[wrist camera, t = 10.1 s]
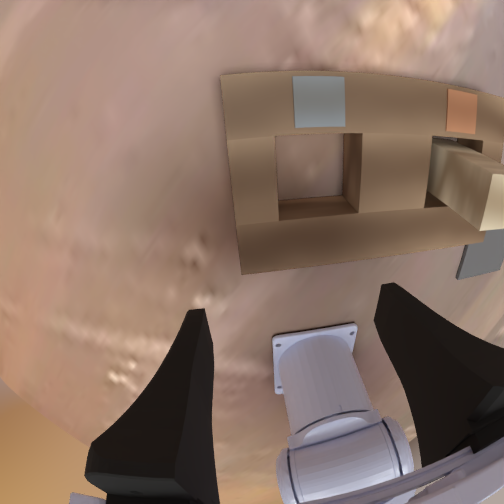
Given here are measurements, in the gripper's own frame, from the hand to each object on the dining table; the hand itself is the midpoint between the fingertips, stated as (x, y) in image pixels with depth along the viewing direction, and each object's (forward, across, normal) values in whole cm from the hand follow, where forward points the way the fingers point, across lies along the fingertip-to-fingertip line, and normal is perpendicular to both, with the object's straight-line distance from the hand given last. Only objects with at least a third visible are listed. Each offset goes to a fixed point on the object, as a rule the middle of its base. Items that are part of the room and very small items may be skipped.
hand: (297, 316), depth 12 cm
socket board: (+10, -8, -3) cm, 13 cm away
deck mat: (+10, -22, +6) cm, 25 cm away
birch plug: (+10, -13, -3) cm, 17 cm away
